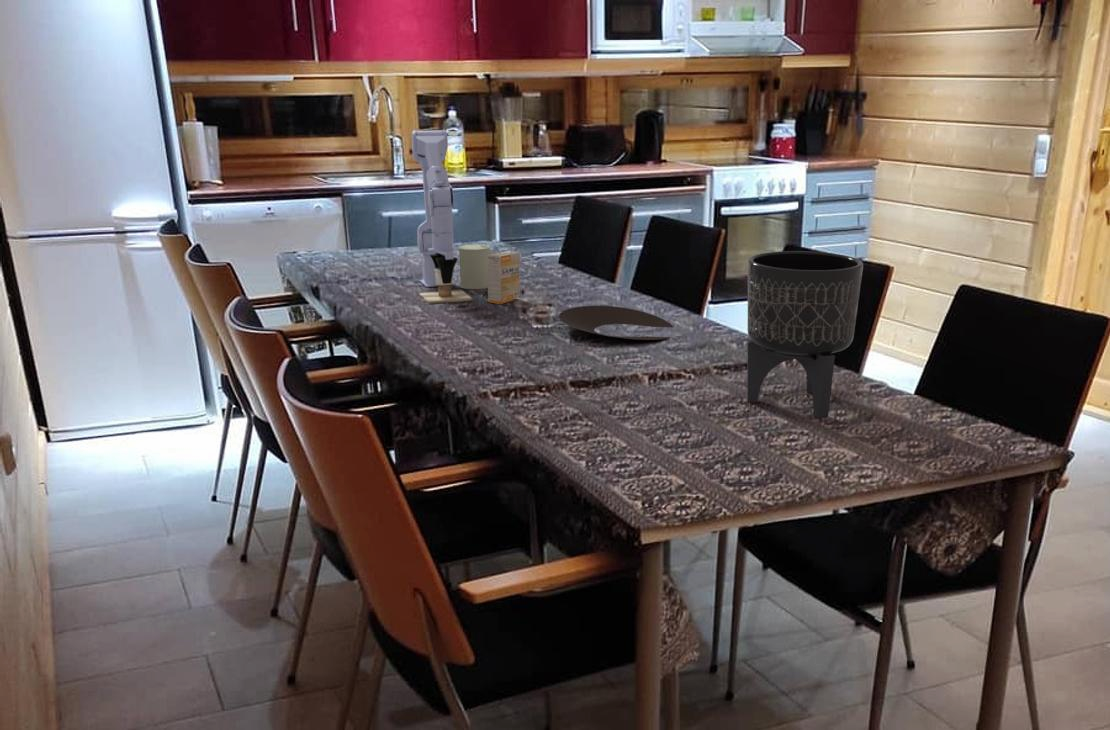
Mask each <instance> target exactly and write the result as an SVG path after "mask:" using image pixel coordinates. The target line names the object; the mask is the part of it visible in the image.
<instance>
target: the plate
mask: <svg viewBox="0 0 1110 730" xmlns="http://www.w3.org/2000/svg"><path fill="white" fill-rule="evenodd" d="M558 318H559V321H560V322H562V323H563V324H565V325H567V326H569V327H571V328H574V329H577V330H580V331H583V332H588V333H591V334H596V335H600V336H603V334H600V333H598V332H596V331H595V330H596V328H598V327H602V326H603V327H604V326H608V325H630V326H631V325H633V326H641V327H651V328H673V329H674V328H675V326H674V325H672V324H671V323H670V322H668V321H667V320H665V319H664V318H662V317H659V316H657V315H655V314H651V313H648V312H645V311H641V310H638V309H633V308H632V309H631V308H627V307H621V306H620V307H619V306H613V305H612V306H611V305H582V306H575V307H571V308H567V309H565V310H562V311H561V312H560V313H559V314H558ZM618 332H619V329H618V327H616V328H615V330H614V333H618ZM604 336H606V337H608V335H607V334H606V335H605V334H604ZM610 337H612V338H620V339H628V340H640V341H641V340H643V341H644V340H645V341H651V340H652V341H655V340H656V341H657V340H658V341H659V340H665V339H671V338H672V337H671V336H647V335H646V336H636V335H635V336H617V335H615V336H614V335H610Z"/></svg>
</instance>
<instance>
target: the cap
mask: <svg viewBox="0 0 1110 730" xmlns="http://www.w3.org/2000/svg"><path fill="white" fill-rule="evenodd" d="M434 272H435V279H436V284H437V285H450V284H452V283H453V279H452V280H451V283H446V284H443V282H442V278H441V272H440V268H436V269H434Z"/></svg>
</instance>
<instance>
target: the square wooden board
mask: <svg viewBox="0 0 1110 730" xmlns="http://www.w3.org/2000/svg"><path fill="white" fill-rule="evenodd" d="M437 287H438V289H437V291H428V292H426V291H425V292H418V294H419V297H421V299H423V300H424V301H425V302H426V304H428V305H432V304H433V305H435V304H446V303H457V302H459V303H460V302H467V301H473V298H472V297H471V296H470V295H468V294H467V293H466V292H465V291H464V290H462V289H453V290H452V285H451V284H450V285H438V286H437Z"/></svg>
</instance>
